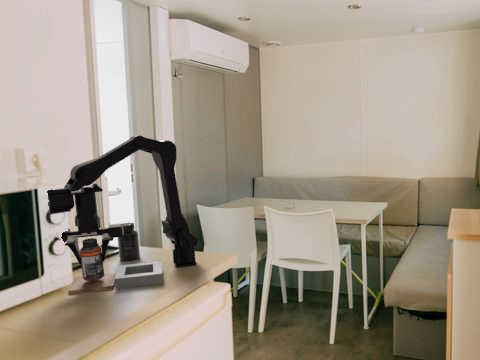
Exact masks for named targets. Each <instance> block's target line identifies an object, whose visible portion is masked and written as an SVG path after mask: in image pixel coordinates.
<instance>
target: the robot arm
mask: <svg viewBox="0 0 480 360" xmlns="http://www.w3.org/2000/svg"><path fill="white" fill-rule="evenodd" d="M138 151H142V152H145V153H149V154H151V156H152V159H153V162H154V164H155V165H156V167H157V169H158V171H159V177H160V181H161V189H162V194H163V200H164V206H165V210H166V211H165V212H166V216H165V220H161V225H162V226H161V227H162V234H165V238H167V239H168V240H170V242H171V244H172V245H173V249H172V261H173V264H174V266H175V268H179V267H180V268H181V267H188V266H196V265H197V260H196V250H195V247H196V246H197V244H198V241H199V239H198V238H197V237H196V236H194V235H193V234H192V233H191V231H190V228H189V225H188V221H187V219H186V218H185V216H184V215H183V213H182V209H181V208H182V207H181V202H180V196H179V191H178V190H179V189H178V184H177V178H176V171H175V167H176V162H177V147H176V145H175V143H174V142H172V140H157V139H152V138H148V137H144V136H142V135H133V136H130V138H128V140H126V141H123V142H122V143H120V144H119V145H116V146H115V147H114V148H112V149H110V150H108V151H107V152H105V153H104V154H102V155H101V156H98V157H96V158H94V159H90V160H87V161H84V162H82V163H79V164H76V165H75V166H73V167H72V168H71V170H70V175H69V176H70V177H69V179H68V180H67V182H66V183H65V185H64V188H63V187H62V188H54V189H55V190H53V188H50V189H51V190H48V191H47V193H48V200H49V202H48V206H49V213H50V214H51V215H57V214H63V213H68V212H69V213H70V212H71V210H72V209H74V208H75V213H76V214H75V216H74V225H75V227H77V230H76V231H71V228H67V229H68V231H65V232H63V233H62V237H61V238H62V239H63V241H64V243H65V242H67V243H66V244H65V245H64V246H68V248H69V250H70V251H71V252H72V253H73V255H74V257H75V259H76V260H77V262H78V264H79V265H81V257H80V246H79V239H80V238H89V237H98V236H102V240H101V250H102V261H103V263H104V262H105V260H106V255H107V249H108V246H109V243H110V242H112V241H114V238H118V237H122V236H123V233H124V230H123V225H122V224H123V223H114V224H108V226H107V227H106V228H104V227H103V228H101V218H100V216H99V215H98V214H99V213H98V205H97V194H96V193H101V192H103V191H104V190H103V189H104V188H101V187H100V186H99V185H98V184H97V183H95V182H96V181H97V180H98V179H100V178H101V176H102V175H103V174H104V173H105V172H106V171H107V170H108V169H110V168H112V167H113V166H115V165H117V164H118V163H120V162H121V161H123V160H125V159H126V158H129V156H131V155H133V154H135V153H137V152H138ZM64 243H63V244H64Z"/></svg>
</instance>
